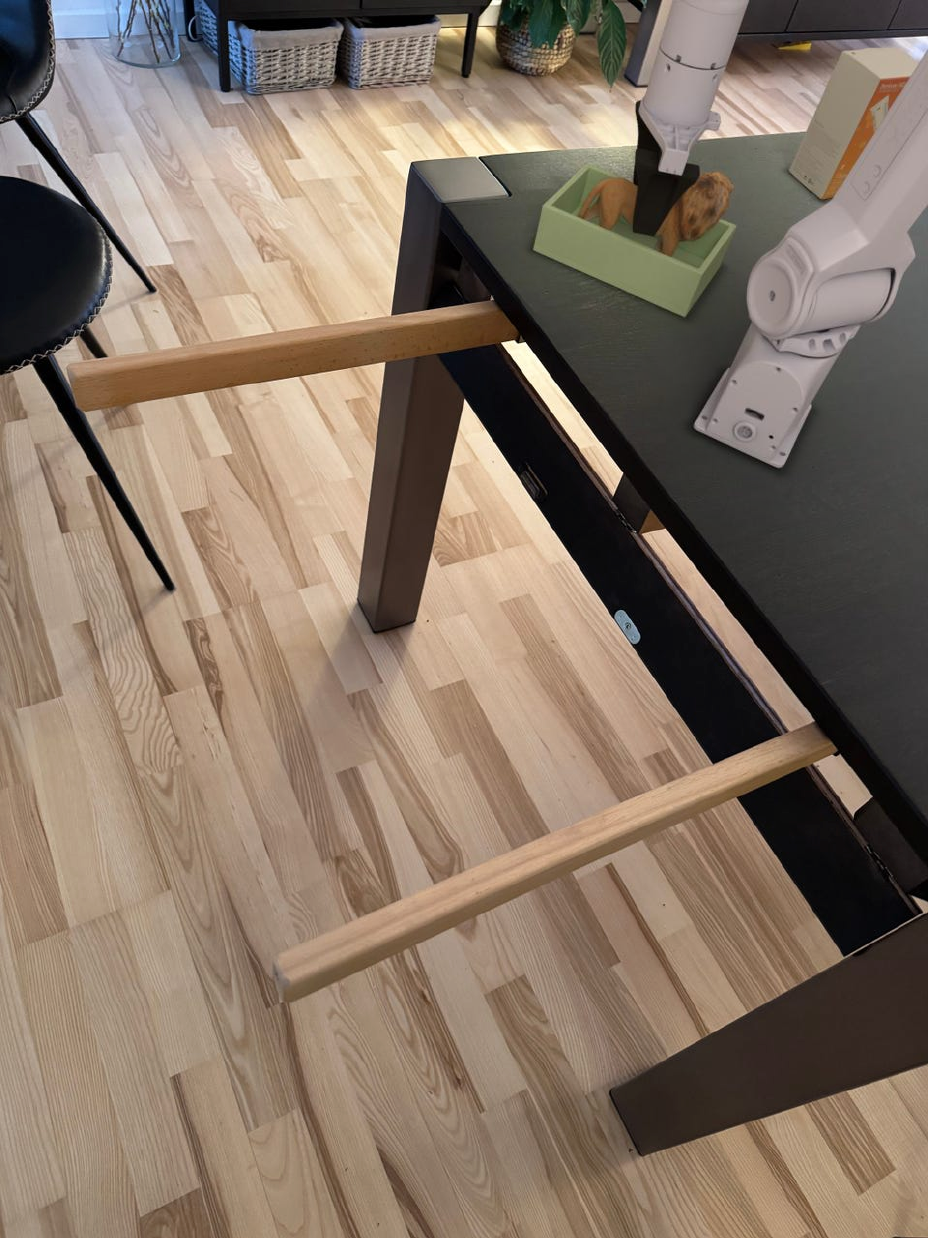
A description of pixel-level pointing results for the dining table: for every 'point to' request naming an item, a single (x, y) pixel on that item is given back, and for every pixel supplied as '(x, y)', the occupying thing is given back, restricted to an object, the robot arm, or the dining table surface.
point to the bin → (628, 249)
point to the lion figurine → (684, 219)
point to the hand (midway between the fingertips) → (643, 210)
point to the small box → (849, 115)
